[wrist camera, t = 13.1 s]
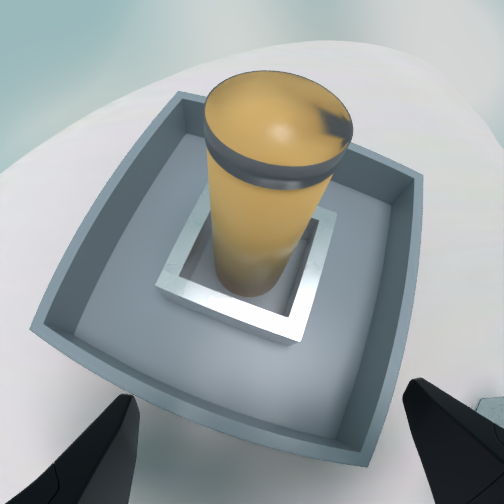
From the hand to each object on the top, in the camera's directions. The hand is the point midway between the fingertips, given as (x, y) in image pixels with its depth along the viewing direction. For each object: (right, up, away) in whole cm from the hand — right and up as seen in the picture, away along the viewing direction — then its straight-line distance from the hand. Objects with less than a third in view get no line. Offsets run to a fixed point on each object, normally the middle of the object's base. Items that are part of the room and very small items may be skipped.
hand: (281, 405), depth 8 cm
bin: (-1, +3, +13) cm, 13 cm away
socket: (-1, +3, +13) cm, 13 cm away
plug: (-1, +4, +12) cm, 13 cm away
